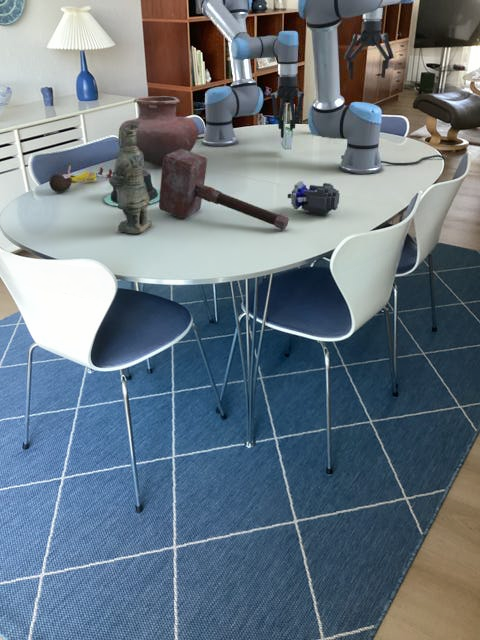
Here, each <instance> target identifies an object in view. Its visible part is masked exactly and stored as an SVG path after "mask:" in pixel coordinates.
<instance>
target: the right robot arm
mask: <svg viewBox="0 0 480 640" xmlns="http://www.w3.org/2000/svg"><path fill="white" fill-rule="evenodd" d="M413 2H414V0H297V12H298V14H299V17H300V18H302V19H303V20H305V24H306V28H307V29H309V30H310V31H311V41H312V55H313V57H312V58H313V68H314V83H315V98H314V100H313V101H312V104H311V106H310V107H309V108H308V116H307V126H308V128H309V131H310V133H311V134H312V135H314V136H315V137H321V138H330V139H340V140H346V149H345V151H344V154H343V155H341V156H340V157H341V158H340V160H341V162H340V170H341V171H343V172H345V173H349V174H355V175H356V174H357V175H369V174H370V175H371V174H376V173H378V172H380V171H382V164H386V165H392V166H393V165H394V166H408V165H417V164H419V163H421V162H422V161H423V160H424V161H425V160H429V159H432V158H433V159H434V158H441V159H442V160H443V161H445V160H446V157H445V156H443V155H441V154H434V155H429V156H424V157H421V158H420V159H419V160H417V161H410V162H393V161H392V162H391V161H387V160H381V155H380V150H379V147H380V145H379V144H380V138H381V137H380V136H381V129H382V128H381V127H382V121H383V120H382V115H383V114H382V113H383V112H382V109H381V107H379V106H378V105H376V104H373V103H370V102H364V101H353V102H351V103H350V104H349V105H345V98H344V96H342V95H341V86H340V83H341V82H340V64H339V63H340V61H339V40H338V39H339V37H338V27H339V25H340V24H341V23H342V19H348V18H354V17H358V16H362V20H363V21H362V22H361V33H360V34H356V33H354V34H353V35H352V40H351V42H350V44H349V46H348V48H347V50H346V52H345V54H344V56H343V60H345V61H347V70H348V71H349V75H348V78H349V79H350V80H353V79H354V65H355V61H354V59H355V58H356V56H357V55H358V54H359V53H360V52H361V50H362V49H364V48H365V47H375V48H377V50H378V51H379V53H380V54H381V56H382V57H383V60H382V63H381V64H382V65H381V74H380V78H382V79H385V78H386V70H388V68H389V63H390V61H391V60H392V59H394V57H395V55H394V53H393V50H392V48H391V44H390V40H389V34H388V33H387V32H385V33H381V32H382V19H383V11H384V10H383V9H384V7H387V6H390V5H397V4H404V5H405V4H411V3H413ZM359 39H360V41H361V42H360V43H359V44H358V46H357V47H356V48H355V46H356V44H357V42H358V41H359ZM380 40H383V43H384V46H385V49H386V51H385V49H384V48H383V46H382V44H381V43H380ZM354 48H355V49H354Z"/></svg>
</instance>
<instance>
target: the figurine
mask: <svg viewBox="0 0 480 640" xmlns="http://www.w3.org/2000/svg"><path fill="white" fill-rule="evenodd" d="M71 169H72V167H71V164H70V165H69V166H68V169H67V174H66V173H63V174H61V173H59V172H56V173H53V174H52V175H51V176H50V177H49V181H48V182H49V187H50V189H51V190H52V191H54V192H56V193H64V192H67V191H68V190H69V189H70V188H71V186H72V184H85V183H86V182H92V183H93V182H96V180H95V179H98V178H99V179H110V178H111V176H112V173H113V170H112V168H110V169H108V173H107V174H103V172H104V168H103V167H102V166H101V167H100V168H99V171H98V172H96V171H95V170H94V169H91V170H89V171H85V172H83V173H80V174H76V175H73V174H72V175H71Z"/></svg>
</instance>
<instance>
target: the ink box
mask: <svg viewBox="0 0 480 640" xmlns="http://www.w3.org/2000/svg"><path fill="white" fill-rule="evenodd" d="M282 120H283V121H284V136H283V138H281V137H280V145H281V147H283V149H284V150H292V144H293V143H292V141H293V136H292V131H291V130H290V126H286V112H285V111H284V110H283V117H282Z"/></svg>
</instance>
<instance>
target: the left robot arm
mask: <svg viewBox="0 0 480 640" xmlns="http://www.w3.org/2000/svg"><path fill="white" fill-rule="evenodd" d="M197 3H198V8H199V11H200V12H201V13H202V15H203V16H204V17H205V18H206V19H209V20H210V21H211V22H212V23H213V25H215V27H216V29H218V31H219V32H220V33H221V35H222V36H223V37H224V38H225V39H226V41H227V44H228V50H229V59H230V67H231V74H232V83H231V84H230V85H229V86H228V85H223V86H216V87H212V88H210V89H208V90H207V91H206V92H205V94H204V96H205V97H204V106H205V108H204V109H205V122H206V123H205V129H204V135H203V136H198V138H197V140H202V142H203V143H202V144H203V145H205V146H209V147H228V146H233V145H235V144H236V143H237V136H236V134H235V130H234V127H233V118H237V117H246V116H248V117H249V116H252V115H256V114H258V113H260V111H261V109H262V107H263V104H264V93H263V91H262V88H261V87H259V86H258V85H257V81H256V80H255V79H253V73H252V65H251V60H255V59H267V58H277V59H278V60H277V61H278V65H277V66H278V67H277V74H278V75H279V76H278V77H277V89H276V91H275V92H273V93H270V97H271V100H272V110H273V119H274V120H276V121H278V122H277V123H278V125H277V127H278V130H280V139H281V138H283V136H284V121H283V120H282V117H283V118H284V114H283V111H284V109H285V105H286V102H288V101H289V107H290V114H291V119H289V128H290V130H291V131H292V137H293V136H294V135H293V134H294V133H293V132H294V130H295V129H296V121H297V120H300V119H301V115H302V114H301V112H302V104H303V103H302V102H303V99H304V96H305V93H304V92H302V91H300V90H299V88H298V76H297V75H298V63H299V62H298V61H299V43H300V42H299V33H298V32H297V31H296V30H282V31H279V32H278V35H273V34H271V35H266V36H250V34H249V33H248V30H247V23H246V19H247V17H248V16H249V11H250V10H251V8H252V3H253V0H197ZM296 96H297V97H298V98H297V106H296V110H295V101H294V99H295V97H296ZM278 97H279V98H280V104H279V111H278V105H277V98H278Z"/></svg>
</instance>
